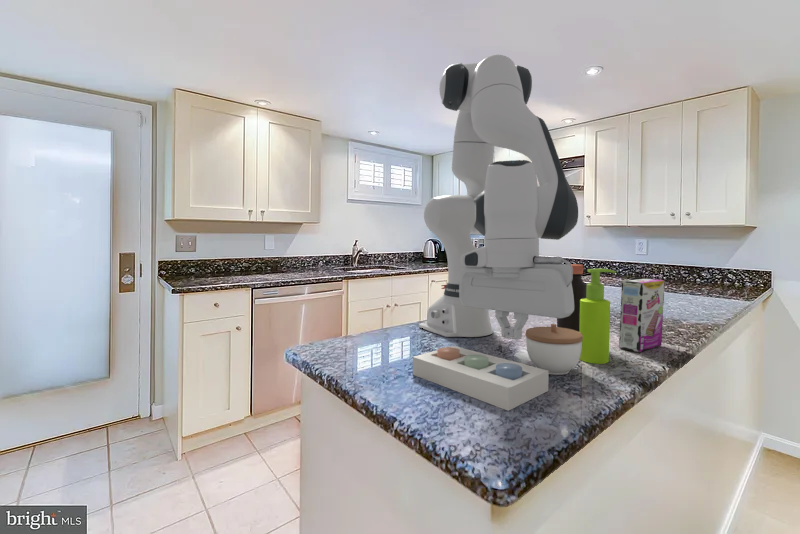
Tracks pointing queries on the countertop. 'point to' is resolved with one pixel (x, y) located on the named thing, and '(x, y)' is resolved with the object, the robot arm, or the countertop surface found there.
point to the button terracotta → (448, 353)
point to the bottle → (575, 300)
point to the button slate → (509, 371)
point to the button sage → (476, 361)
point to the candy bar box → (641, 314)
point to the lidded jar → (554, 348)
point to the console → (482, 378)
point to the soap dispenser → (595, 321)
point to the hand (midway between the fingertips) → (511, 338)
